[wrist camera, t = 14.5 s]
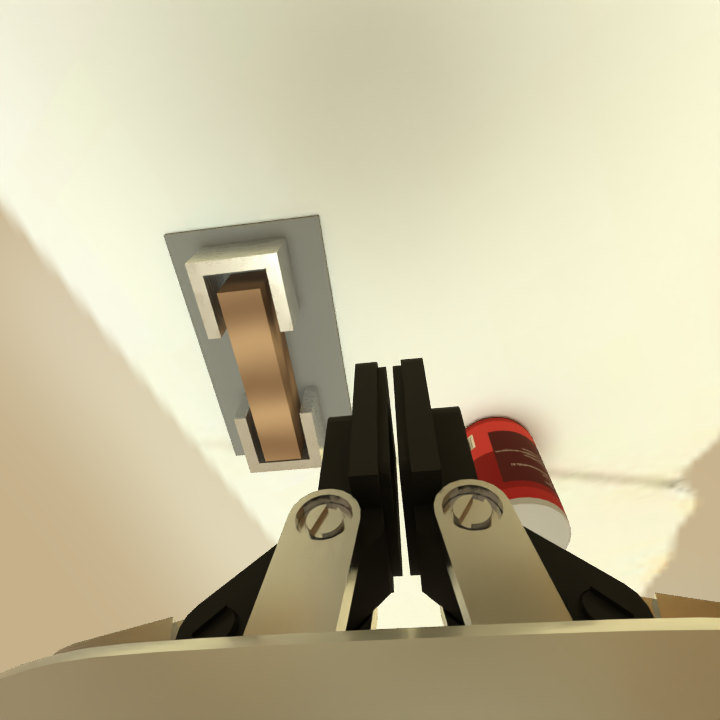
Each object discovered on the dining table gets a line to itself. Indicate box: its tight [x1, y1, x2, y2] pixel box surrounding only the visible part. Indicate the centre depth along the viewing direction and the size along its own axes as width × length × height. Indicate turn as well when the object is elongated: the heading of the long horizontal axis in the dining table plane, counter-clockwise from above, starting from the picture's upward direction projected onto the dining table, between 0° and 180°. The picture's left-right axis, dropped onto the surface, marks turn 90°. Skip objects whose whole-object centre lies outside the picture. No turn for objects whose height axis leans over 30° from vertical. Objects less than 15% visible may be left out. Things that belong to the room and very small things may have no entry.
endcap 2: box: [234, 386, 326, 473], centre depth 44 cm, size 6×7×4 cm
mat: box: [164, 215, 352, 456], centre depth 42 cm, size 22×12×1 cm, turn 7°
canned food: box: [466, 418, 571, 550], centre depth 43 cm, size 8×8×11 cm
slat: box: [217, 270, 305, 461], centre depth 41 cm, size 16×3×4 cm, turn 7°
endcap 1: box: [185, 237, 300, 339], centre depth 37 cm, size 6×7×4 cm
